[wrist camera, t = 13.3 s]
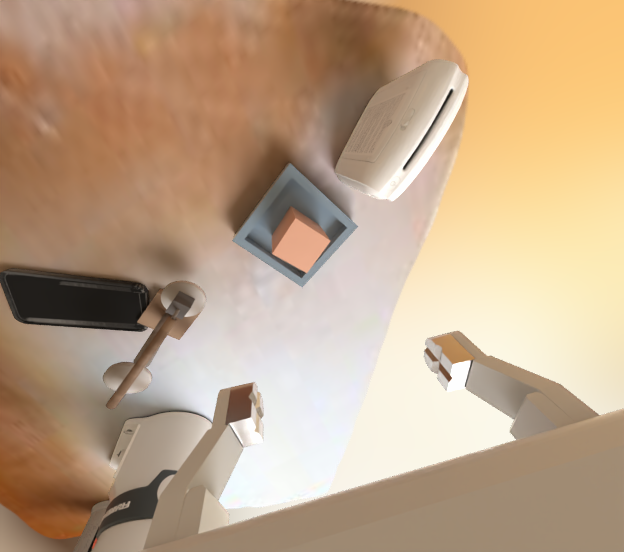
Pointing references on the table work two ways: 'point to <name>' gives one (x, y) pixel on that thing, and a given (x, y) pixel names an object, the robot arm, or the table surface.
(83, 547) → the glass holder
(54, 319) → the phone
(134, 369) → the tipped balance
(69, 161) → the table surface
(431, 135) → the photo printer
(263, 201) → the dish
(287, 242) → the terracotta block
